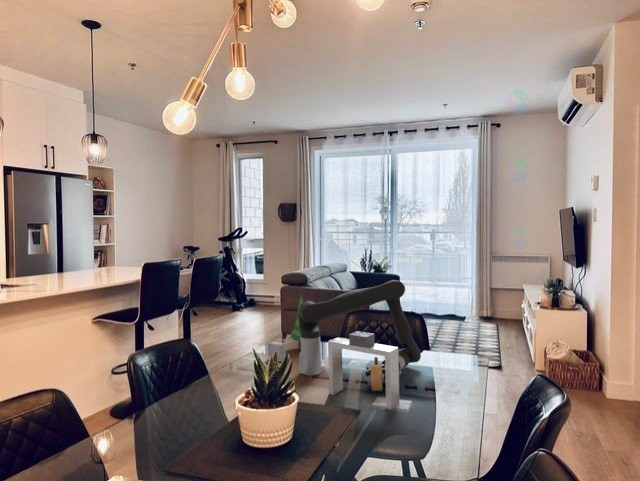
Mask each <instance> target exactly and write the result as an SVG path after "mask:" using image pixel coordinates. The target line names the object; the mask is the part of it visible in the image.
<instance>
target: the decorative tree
mask: <svg viewBox="0 0 640 481" xmlns="http://www.w3.org/2000/svg"><path fill="white" fill-rule="evenodd" d="M303 302H304V300H303V297H302V296H300V298H299V303H298V308H297V314H296V319H295V323H294V327H293V328H292V331H291V333H290V336H289V339H294V340H296V341H298V346H297V347H298V350H299V351H301V336H300V328H299V307H300V305H301V304H302V303H303Z"/></svg>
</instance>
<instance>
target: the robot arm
mask: <svg viewBox="0 0 640 481" xmlns="http://www.w3.org/2000/svg"><path fill="white" fill-rule="evenodd" d="M405 292H406V286H405V285H404V283H403V282H402V281H400V280H396V279H392V280H389V281H386V282H385V283H382V284H380V285H376V286H372V287H365V288H360V289H355V290H354V289H353V290H350V291H347V292H344V293H341V294H339V295H337V296H336V297H334V298H332V299H330V300H326V301H322V302H314V301H312V300H305V301H303V303H302V304H301V305H300V307H299V306H298V308H299V328H300V336H301V350H300V352H299V357H298V358H299V359H298V360H299V373H300V374H301V375H305V376H311V377H312V376H313V377H314V376H317V375H320V374H321V373H322V352H321V350H322V348H321V329H320V324H319V322H320V321H323V320H326V319H328V318H330V317H333V316H338V315H342V314H347V313H351V312H355V311H359V310H362V309H365V308H367V307H370V306H372V305H375V304H377V303H380V302H384V301H385V302H386V305H387V307H388V310H389V313H390V315H391V319H392V322H393V325H394V329H395V334H396V338H397V341H398V343H399V344H404V345H406V346H407V347H405V348H400V349H398V359H399V377H401V375H402V370H403V369H404V368H407V366H408V365H409V364H411V363H413V364H414V363H418V362H419V361H420V360H421V356H422V354H421V351H420V347H418V345H417V343H416V341H415V339H414V338H413V335H412V331H411V330H412V329H411V327H410V323H409V321H408V318H407V316H406V314H405V313H404V311H403V308H402V304H401V299H400V298H403V296H404V295H405ZM373 364H374V363H370V364H369V365H368V366H366V371H365V377H369V376H370V377H371V365H373ZM380 365H381V366H382V375H383V380H384V381H386V378H385V359H384V360H382V362H381V364H380Z"/></svg>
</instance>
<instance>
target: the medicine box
mask: <svg viewBox="0 0 640 481" xmlns="http://www.w3.org/2000/svg"><path fill="white" fill-rule="evenodd" d="M267 352H268V355H267V356H270V357H271V356H272V355H273V354H274V352H277V355H278V360H279V363H281V362H283V361H282V360H283V359H284V358H286V344H285V343H284V342H278V341H271V342H269V343H267ZM280 361H281V362H280Z"/></svg>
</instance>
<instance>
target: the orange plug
mask: <svg viewBox="0 0 640 481" xmlns="http://www.w3.org/2000/svg"><path fill="white" fill-rule="evenodd" d="M372 364H373V365H371V364H370V365H371V375H370V384H371V385H370V390H371V389H373V390H381V389H382V390H383V374H382V366H381V364H379V358H378V356H375V357H374V363H372Z"/></svg>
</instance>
